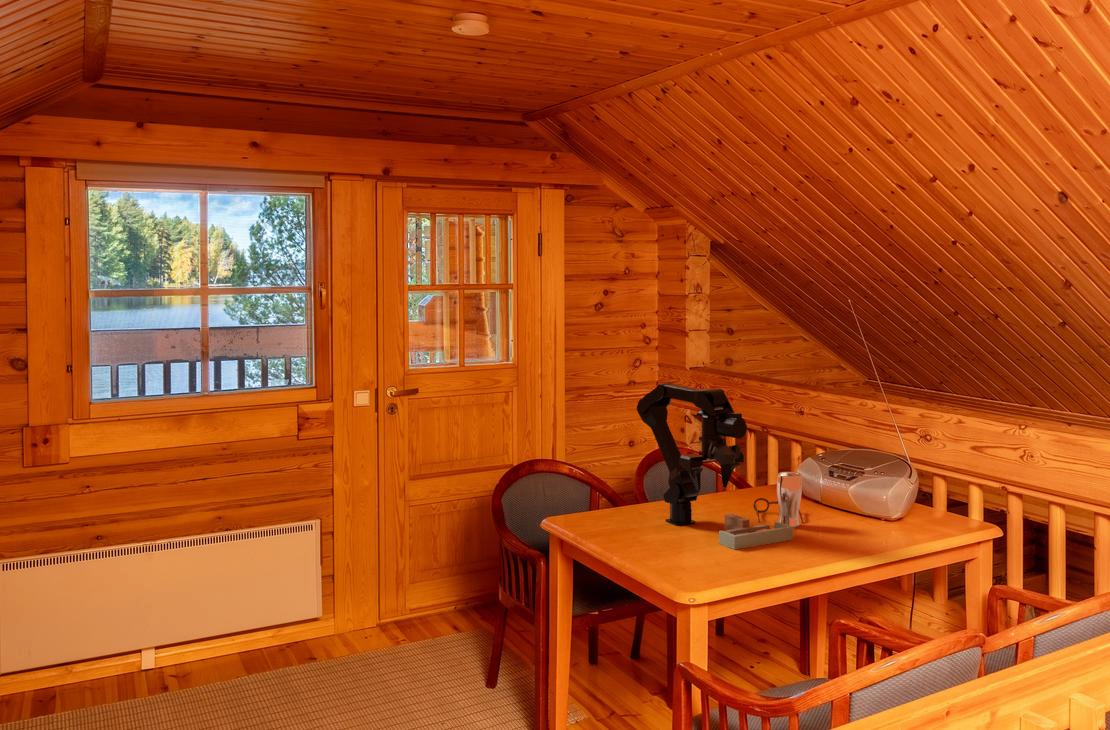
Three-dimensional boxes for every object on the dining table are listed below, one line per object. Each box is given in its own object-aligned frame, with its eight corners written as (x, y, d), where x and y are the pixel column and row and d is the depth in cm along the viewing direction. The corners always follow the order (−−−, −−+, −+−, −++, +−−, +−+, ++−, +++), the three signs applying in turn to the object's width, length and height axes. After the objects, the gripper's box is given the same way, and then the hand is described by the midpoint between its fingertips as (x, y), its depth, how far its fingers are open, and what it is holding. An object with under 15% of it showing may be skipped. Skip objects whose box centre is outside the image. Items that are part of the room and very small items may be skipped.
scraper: (707, 534, 276) (708, 517, 275) (747, 528, 282) (747, 511, 282) (728, 542, 267) (729, 524, 267) (769, 536, 274) (769, 518, 274)
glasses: (797, 514, 300) (797, 497, 299) (804, 525, 287) (804, 508, 286) (753, 513, 301) (753, 497, 301) (757, 524, 288) (758, 507, 288)
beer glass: (801, 529, 281) (802, 477, 279) (776, 528, 282) (777, 476, 281) (800, 523, 287) (801, 472, 286) (776, 521, 289) (776, 471, 287)
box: (719, 543, 266) (719, 530, 266) (777, 534, 276) (777, 521, 275) (734, 549, 261) (734, 536, 260) (793, 539, 270) (793, 526, 270)
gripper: (702, 441, 265) (701, 498, 267) (757, 435, 274) (756, 490, 275) (678, 435, 275) (677, 490, 276) (732, 429, 284) (731, 483, 285)
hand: (711, 489), depth 278 cm, fingers open, 9 cm apart
